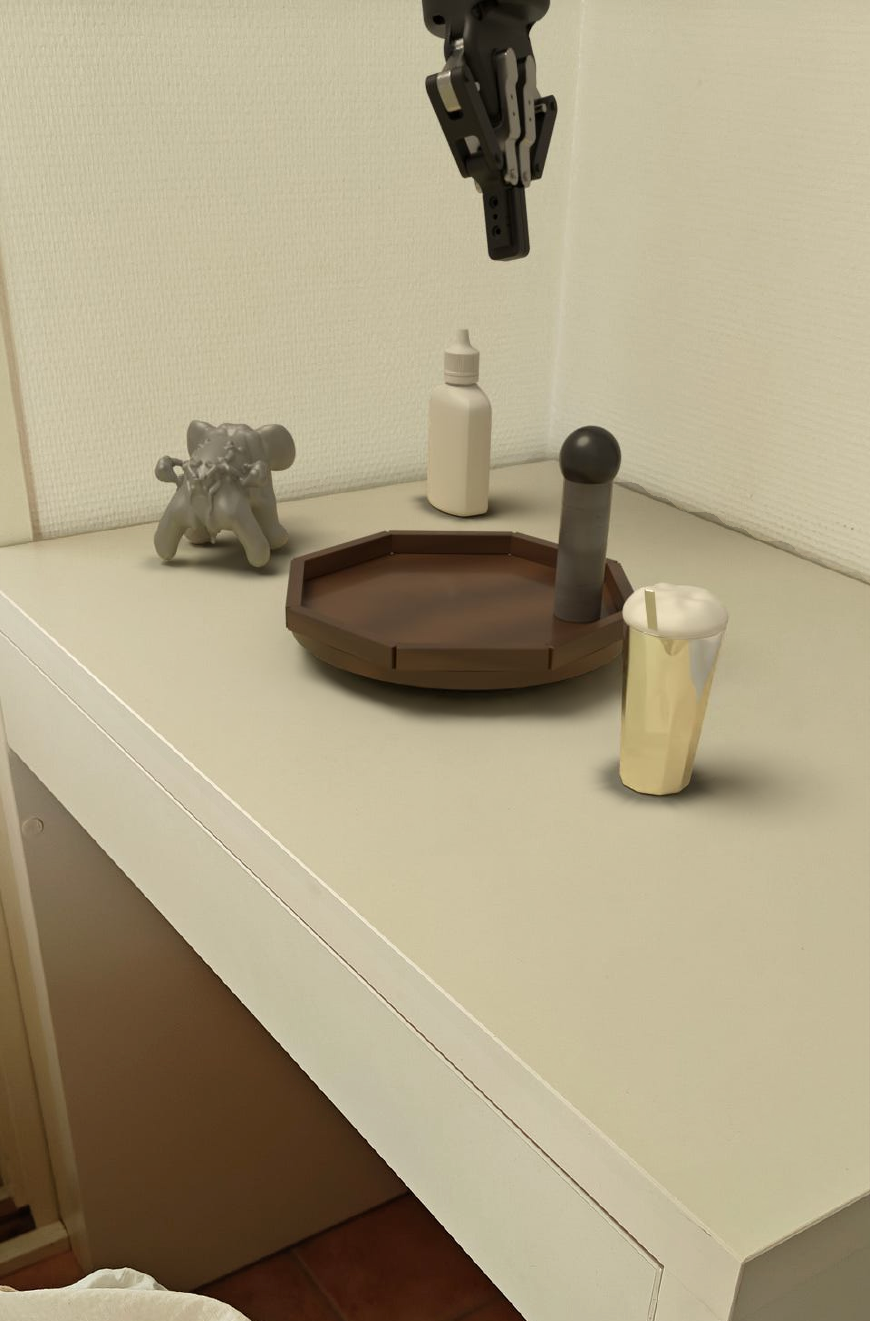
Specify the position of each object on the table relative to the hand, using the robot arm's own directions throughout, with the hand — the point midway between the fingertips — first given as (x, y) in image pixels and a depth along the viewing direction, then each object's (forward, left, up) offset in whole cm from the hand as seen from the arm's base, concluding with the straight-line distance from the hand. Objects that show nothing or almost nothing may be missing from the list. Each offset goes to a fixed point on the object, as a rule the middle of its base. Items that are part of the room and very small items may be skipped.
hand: (510, 258), depth 85 cm
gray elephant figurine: (+17, +6, -17) cm, 25 cm away
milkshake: (-10, +36, -17) cm, 42 cm away
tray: (0, +21, -16) cm, 26 cm away
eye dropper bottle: (+3, -6, -17) cm, 19 cm away
